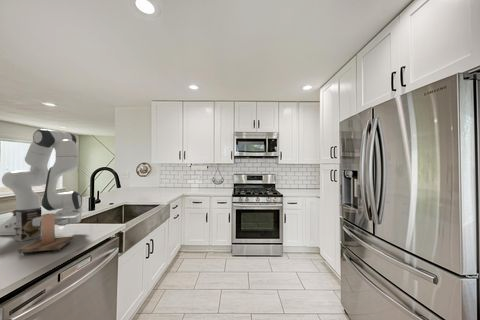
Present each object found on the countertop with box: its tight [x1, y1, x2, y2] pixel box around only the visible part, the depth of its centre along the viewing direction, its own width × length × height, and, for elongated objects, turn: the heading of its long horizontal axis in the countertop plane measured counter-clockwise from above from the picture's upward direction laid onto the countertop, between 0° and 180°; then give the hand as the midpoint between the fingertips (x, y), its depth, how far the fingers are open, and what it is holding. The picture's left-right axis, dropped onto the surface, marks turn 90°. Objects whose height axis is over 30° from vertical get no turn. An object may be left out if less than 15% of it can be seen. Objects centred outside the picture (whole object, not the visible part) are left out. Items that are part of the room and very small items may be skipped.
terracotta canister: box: [40, 212, 56, 244], centre depth 108 cm, size 5×5×14 cm
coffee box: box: [14, 208, 42, 242], centre depth 124 cm, size 9×6×16 cm
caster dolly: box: [17, 236, 74, 256], centre depth 108 cm, size 16×14×4 cm
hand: (49, 223), depth 110 cm, fingers open, 8 cm apart
